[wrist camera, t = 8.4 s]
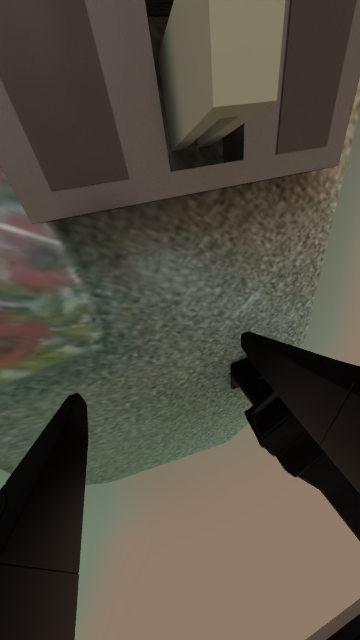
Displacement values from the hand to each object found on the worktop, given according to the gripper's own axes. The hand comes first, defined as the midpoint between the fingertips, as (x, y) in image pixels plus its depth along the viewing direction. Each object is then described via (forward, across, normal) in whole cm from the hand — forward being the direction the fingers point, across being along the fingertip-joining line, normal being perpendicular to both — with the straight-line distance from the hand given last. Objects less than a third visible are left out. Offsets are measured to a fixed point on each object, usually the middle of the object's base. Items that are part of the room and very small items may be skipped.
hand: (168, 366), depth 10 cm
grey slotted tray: (+12, -8, -13) cm, 19 cm away
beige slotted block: (+12, -8, -13) cm, 19 cm away
